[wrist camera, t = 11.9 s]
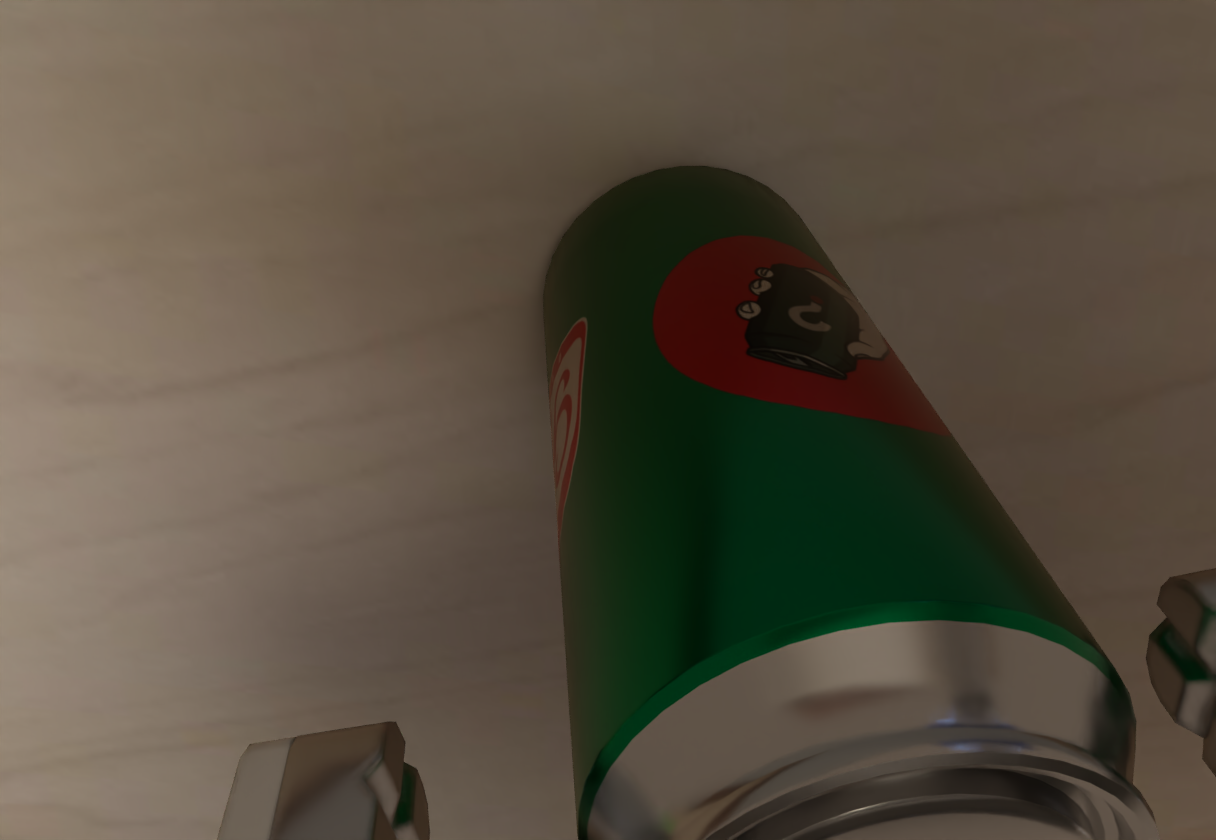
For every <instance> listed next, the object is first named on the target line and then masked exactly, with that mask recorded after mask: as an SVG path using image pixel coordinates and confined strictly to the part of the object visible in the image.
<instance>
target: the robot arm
mask: <svg viewBox="0 0 1216 840" xmlns="http://www.w3.org/2000/svg"><path fill="white" fill-rule="evenodd" d="M1156 605H1157V606H1158V607H1159V608H1160V609H1161V611H1162V612H1163V613H1164V614H1165V616H1166V617H1167V618H1166V619H1165V620H1164V621H1163V622H1162V623H1161V624H1160V625H1159V626H1158V627H1157V628H1156V629H1155V630H1154V631H1153V632H1152V633H1151V634H1150V635H1149V641H1148V647H1147V653H1146V662H1147V666H1148V671H1149V676H1150V680H1151V684H1152V686H1153V688H1154V690H1155V692H1156V694H1157V696H1158V698H1159V700H1160V702H1161V704H1162V705H1163V707H1164V708H1165V709H1166V711H1167V712H1168V713H1169V715H1170V716H1171V718H1172V719H1173V720H1174V722H1175V723H1177V724H1178V725H1180V726H1182V727H1184V728H1186V729H1188V730H1190V731H1191V732H1193V733H1195V734H1197V735H1199V736H1201V737H1203V754H1202V759H1203V761H1204V762H1205V763H1206V765H1207V766H1208V767H1209V769H1210V770H1211V771H1212V773H1213V774H1214V775H1215V777H1216V568H1214V569H1209V570H1204V571H1199V572H1193V573H1188V574H1183V575H1178V576H1173V577H1170V578H1169V579H1168V580H1167V581H1166V582H1165V583H1164V584H1163V585H1162V586H1161V588H1160V592H1159V596H1158V600H1157V604H1156ZM405 743H406V742H405V740H404V738H403V735H402V733H401V731H400V729H399V727H398V725H397V723H396V722H383V723H376V724H370V725H364V726H357V727H351V728H344V729H338V730H332V731H325V732H319V733H312V734H306V735H300V736H296V737H290V738H284V739H278V740H272V741H266V742H260V743H254V744H249V746H248V747H247V749H246V750H245V752H244V753H243V755H242V756H241V758H240V759H239V762H238V766H237V769H236V773H235V777H234V780H233V784H232V787H231V791H230V794H229V798H228V802H227V805H226V809H225V812H224V816H223V820H222V823H221V827H220V830H219V834H218V837H217V840H430V827H429V814H428V803H427V799H426V795H425V790H424V786H423V783H422V780H421V778H420V775H419V773H418V770H417V769H416V768H414V767H413V766H411V765H409V764H407V763H405V762H404V754H405Z"/></svg>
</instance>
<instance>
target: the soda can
mask: <svg viewBox="0 0 1216 840" xmlns="http://www.w3.org/2000/svg"><path fill="white" fill-rule="evenodd" d="M543 317H544V332H545V347H546V363H547V378H548V393H549V409H550V424H551V439H552V455H553V470H554V485H555V500H556V516H557V531H558V546H559V562H560V577H561V592H562V607H563V623H564V638H565V653H566V669H567V684H568V699H569V715H570V730H571V745H572V760H573V776H574V791H575V806H576V822H577V836H578V840H1160V837H1159V833H1158V829H1157V826H1156V822H1155V818H1154V815H1153V812H1152V810H1151V808H1150V807H1149V805H1148V804H1147V802H1146V800H1145V799H1144V797H1143V796H1142V794H1141V793H1140V791H1139V790H1138V789H1137V788H1136V787H1135V786H1134V785H1133V777H1134V763H1135V750H1136V718H1135V714H1134V710H1133V706H1132V702H1131V698H1130V694H1129V692H1128V690H1127V688H1126V687H1125V685H1124V683H1123V682H1122V680H1121V678H1120V676H1119V675H1118V673H1117V671H1116V669H1115V668H1114V666H1113V665H1112V663H1111V662H1110V660H1109V659H1108V657H1107V656H1106V655H1105V653H1104V652H1103V650H1102V649H1101V647H1100V646H1099V645H1098V643H1097V642H1096V640H1095V639H1094V637H1093V636H1092V635H1091V633H1090V632H1089V630H1088V629H1087V627H1086V626H1085V625H1084V623H1083V622H1082V620H1081V619H1080V617H1079V616H1078V614H1077V613H1076V612H1075V610H1074V609H1073V607H1072V606H1071V604H1070V603H1069V602H1068V600H1067V599H1066V597H1065V596H1064V594H1063V593H1062V592H1061V590H1060V589H1059V587H1058V586H1057V584H1056V583H1055V582H1054V580H1053V579H1052V577H1051V576H1050V574H1049V573H1048V572H1047V570H1046V569H1045V567H1044V566H1043V564H1042V563H1041V562H1040V560H1039V559H1038V557H1037V556H1036V554H1035V553H1034V551H1033V550H1032V549H1031V547H1030V546H1029V544H1028V543H1027V541H1026V540H1025V539H1024V537H1023V536H1022V534H1021V533H1020V531H1019V530H1018V529H1017V527H1016V526H1015V524H1014V523H1013V521H1012V520H1011V519H1010V517H1009V516H1008V514H1007V513H1006V511H1005V510H1004V509H1003V507H1002V506H1001V504H1000V503H999V501H998V500H997V499H996V497H995V496H994V494H993V493H992V491H991V490H990V488H989V487H988V486H987V484H986V483H985V481H984V480H983V478H982V477H981V476H980V474H979V473H978V471H977V470H976V468H975V467H974V466H973V464H972V463H971V461H970V460H969V458H968V457H967V456H966V454H965V453H964V451H963V450H962V448H961V447H960V446H959V444H958V443H957V441H956V440H955V438H954V437H953V436H952V434H951V433H950V431H949V430H948V428H947V427H946V425H945V424H944V423H943V421H942V420H941V418H940V417H939V415H938V414H937V413H936V411H935V410H934V408H933V407H932V405H931V404H930V403H929V401H928V400H927V398H926V397H925V395H924V394H923V393H922V391H921V390H920V388H919V387H918V385H917V384H916V383H915V381H914V380H913V378H912V377H911V375H910V374H909V373H908V371H907V370H906V368H905V367H904V365H903V364H902V362H901V361H900V360H899V358H898V357H897V355H896V354H895V352H894V351H893V350H892V348H891V347H890V345H889V344H888V342H887V341H886V340H885V338H884V337H883V335H882V334H881V332H880V331H879V330H878V328H877V327H876V325H875V324H874V322H873V321H872V320H871V318H870V317H869V315H868V314H867V312H866V311H865V310H864V308H863V307H862V305H861V304H860V302H859V301H858V299H857V298H856V297H855V295H854V294H853V292H852V291H851V289H850V288H849V287H848V285H847V284H846V282H845V281H844V279H843V278H842V277H841V275H840V274H839V272H838V271H837V269H836V268H835V267H834V265H833V264H832V262H831V261H830V259H829V258H828V257H827V255H826V254H825V252H824V251H823V249H822V248H821V246H820V245H819V244H818V242H817V241H816V239H815V238H814V236H813V235H812V234H811V232H810V231H809V229H808V228H807V226H806V225H805V224H804V222H803V221H802V219H801V218H800V216H799V215H798V214H797V213H796V212H795V211H794V209H793V208H792V207H791V206H790V205H789V204H788V203H787V202H786V201H785V200H784V199H783V198H782V197H781V196H779V195H778V194H777V193H775V192H774V191H773V190H771V189H770V188H769V187H768V186H766V185H764V184H762V183H760V182H758V181H756V180H754V179H752V178H750V177H748V176H745V175H742V174H739V173H736V172H733V171H730V170H727V169H721V168H714V167H707V166H678V167H672V168H666V169H660V170H655V171H652V172H649V173H646V174H643V175H640V176H637V177H634V178H632V179H630V180H628V181H626V182H624V183H622V184H620V185H618V186H616V187H614V188H612V189H611V190H609V191H608V192H607V193H605V194H604V195H602V196H601V197H600V198H598V199H597V200H595V201H594V202H593V203H592V204H591V205H590V206H589V207H588V208H587V209H586V210H585V211H583V212H582V213H581V214H580V215H579V216H578V217H577V218H576V220H575V221H574V222H573V224H572V225H571V226H570V228H569V229H568V230H567V232H566V233H565V234H564V236H563V237H562V239H561V241H560V243H559V245H558V247H557V249H556V251H555V253H554V254H553V257H552V260H551V263H550V266H549V269H548V272H547V275H546V280H545V287H544V293H543Z"/></svg>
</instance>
